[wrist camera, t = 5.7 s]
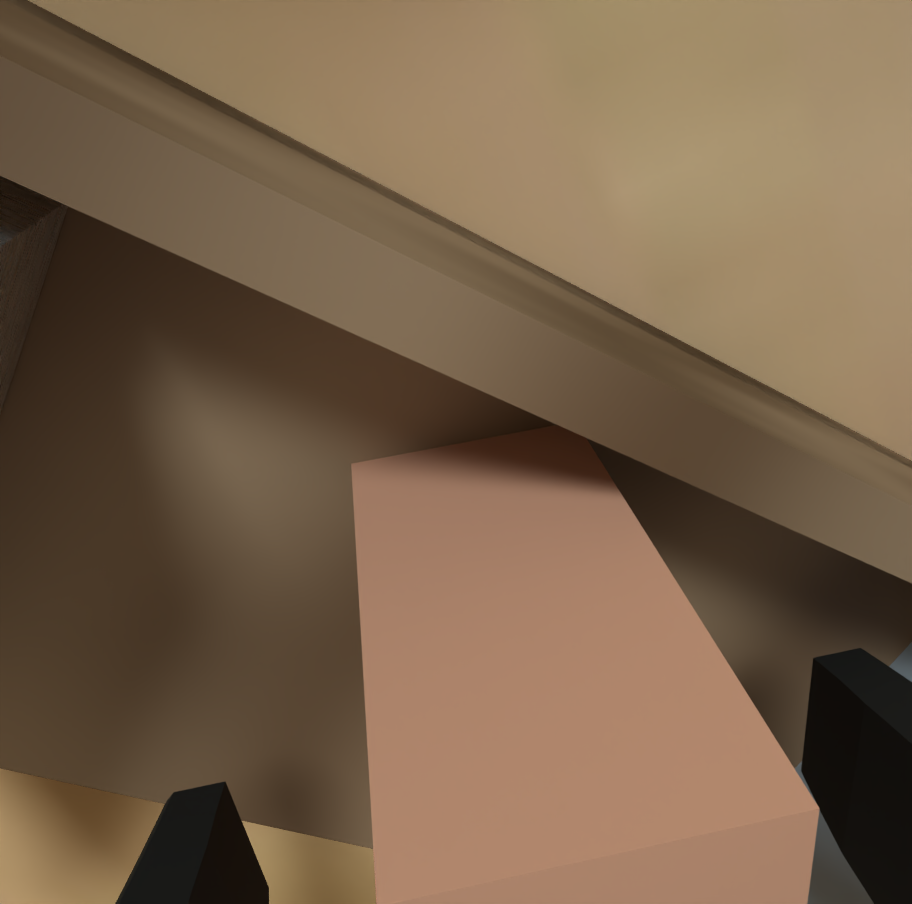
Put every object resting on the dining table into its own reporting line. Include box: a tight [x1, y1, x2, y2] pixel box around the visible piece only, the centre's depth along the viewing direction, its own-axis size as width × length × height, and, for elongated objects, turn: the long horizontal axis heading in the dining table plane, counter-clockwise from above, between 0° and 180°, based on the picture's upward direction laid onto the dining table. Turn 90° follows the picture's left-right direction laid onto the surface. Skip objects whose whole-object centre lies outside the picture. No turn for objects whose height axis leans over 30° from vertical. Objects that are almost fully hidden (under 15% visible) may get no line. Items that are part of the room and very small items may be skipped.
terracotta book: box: [351, 425, 820, 904], centre depth 10 cm, size 3×7×6 cm, turn 8°
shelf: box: [0, 0, 912, 849], centre depth 11 cm, size 24×10×4 cm, turn 62°
